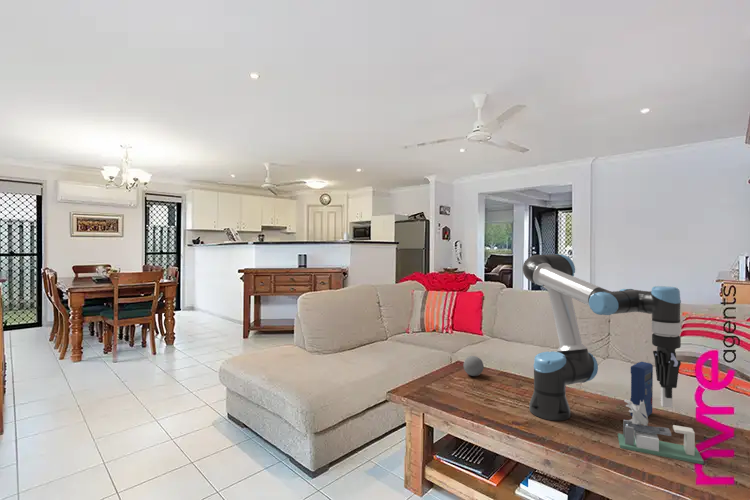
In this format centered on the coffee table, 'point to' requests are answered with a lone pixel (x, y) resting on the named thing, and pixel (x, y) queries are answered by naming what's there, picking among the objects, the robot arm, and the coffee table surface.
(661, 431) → the strap
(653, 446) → the board
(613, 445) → the coffee table surface
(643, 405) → the figurine
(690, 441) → the bracket
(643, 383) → the electronic device
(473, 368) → the decorative ball
